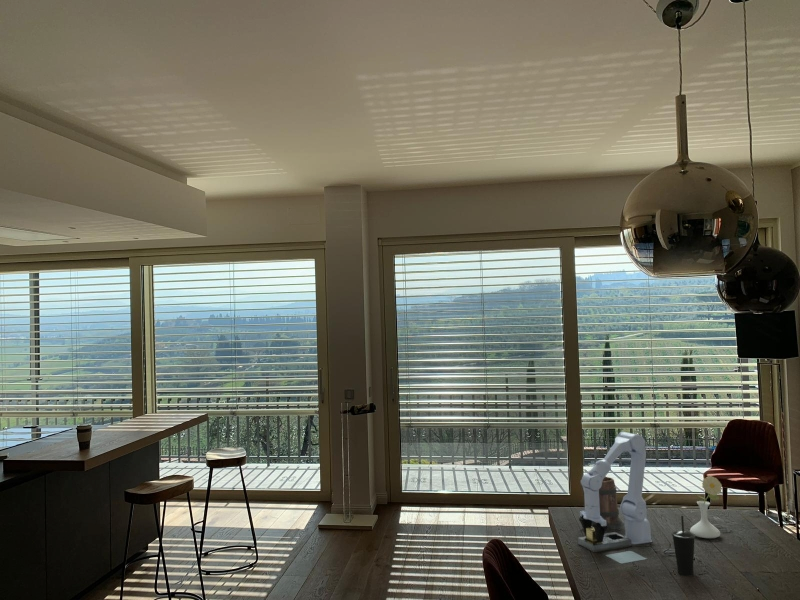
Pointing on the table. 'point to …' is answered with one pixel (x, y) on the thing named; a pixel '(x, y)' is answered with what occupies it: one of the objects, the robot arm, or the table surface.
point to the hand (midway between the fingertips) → (593, 539)
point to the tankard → (609, 504)
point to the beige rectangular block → (591, 535)
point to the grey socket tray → (606, 542)
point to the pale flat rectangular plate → (626, 557)
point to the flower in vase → (704, 526)
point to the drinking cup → (684, 550)
